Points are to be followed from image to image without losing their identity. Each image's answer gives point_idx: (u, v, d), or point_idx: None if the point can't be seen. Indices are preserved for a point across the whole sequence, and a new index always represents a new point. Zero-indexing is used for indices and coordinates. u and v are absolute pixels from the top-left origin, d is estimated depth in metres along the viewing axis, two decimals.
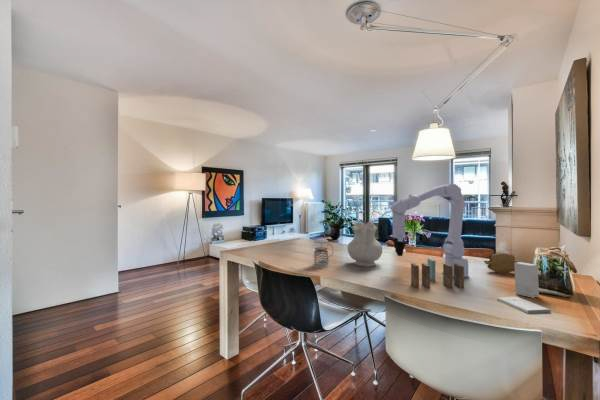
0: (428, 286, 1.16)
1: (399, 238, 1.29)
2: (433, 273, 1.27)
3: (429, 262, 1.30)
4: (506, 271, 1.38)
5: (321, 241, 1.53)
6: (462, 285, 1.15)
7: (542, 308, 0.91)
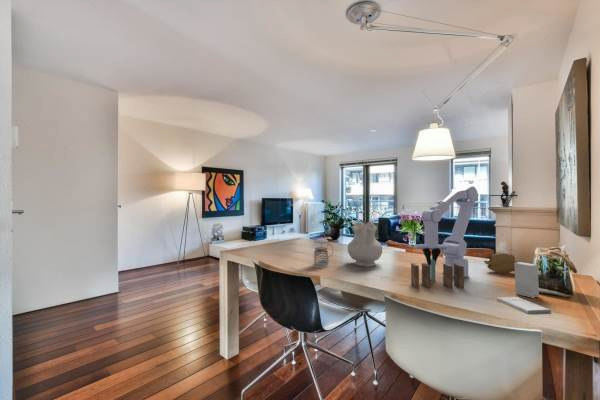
0: (428, 286, 1.16)
1: None
2: (433, 273, 1.27)
3: None
4: (506, 271, 1.38)
5: (321, 241, 1.53)
6: (462, 285, 1.15)
7: (542, 308, 0.91)
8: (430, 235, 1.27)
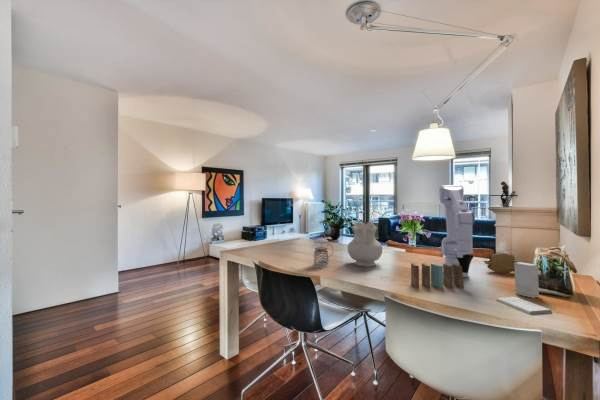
0: (428, 286, 1.16)
1: (457, 253, 1.13)
2: (441, 280, 1.16)
3: (434, 268, 1.18)
4: (506, 271, 1.38)
5: (321, 241, 1.53)
6: (462, 285, 1.15)
7: (543, 308, 0.91)
8: (470, 240, 1.15)
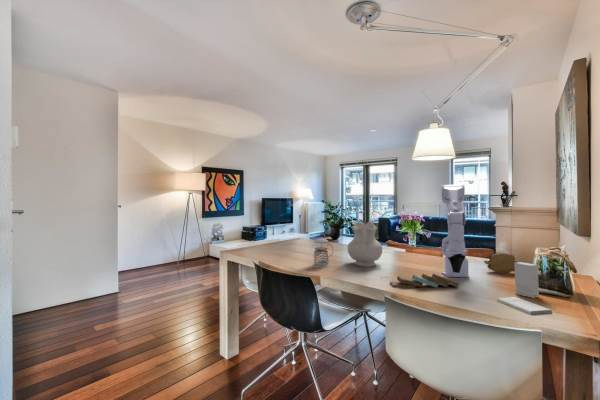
0: (421, 284, 1.16)
1: (446, 253, 1.14)
2: (431, 284, 1.15)
3: (418, 280, 1.17)
4: (506, 271, 1.38)
5: (321, 241, 1.53)
6: (456, 283, 1.16)
7: (543, 308, 0.91)
8: (461, 240, 1.15)
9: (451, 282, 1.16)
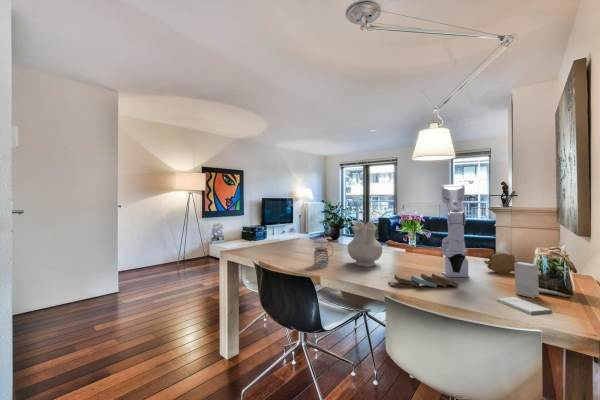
0: (418, 284, 1.17)
1: (446, 253, 1.14)
2: (430, 284, 1.16)
3: None
4: (506, 271, 1.38)
5: (321, 241, 1.53)
6: (455, 283, 1.16)
7: (544, 308, 0.91)
8: (461, 240, 1.15)
9: (450, 282, 1.16)
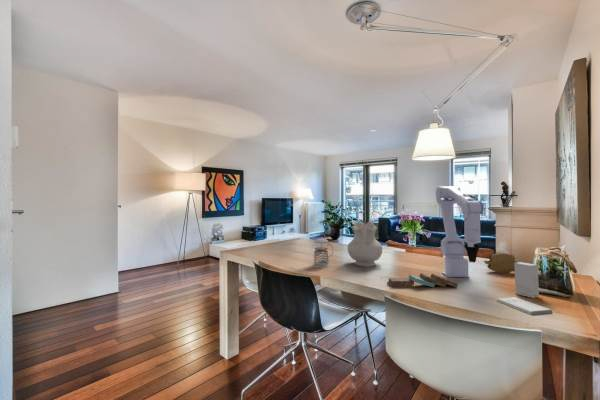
0: (412, 282, 1.17)
1: (469, 243, 1.12)
2: (428, 283, 1.16)
3: None
4: (506, 271, 1.38)
5: (321, 241, 1.53)
6: (454, 284, 1.16)
7: (544, 308, 0.91)
8: (479, 229, 1.15)
9: (449, 282, 1.16)
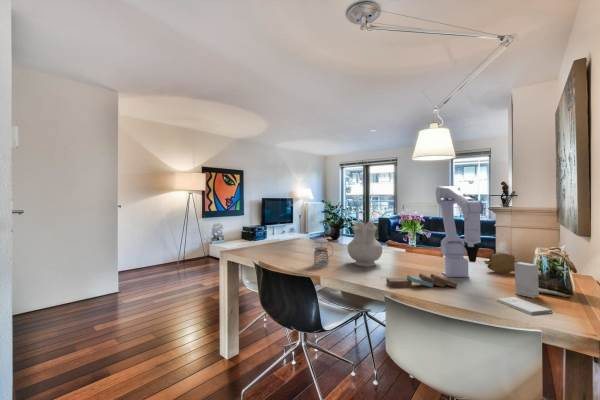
0: (410, 282, 1.17)
1: (469, 243, 1.12)
2: (426, 283, 1.16)
3: None
4: (506, 271, 1.38)
5: (321, 241, 1.53)
6: (454, 284, 1.16)
7: (544, 308, 0.91)
8: (479, 229, 1.15)
9: (449, 283, 1.16)
